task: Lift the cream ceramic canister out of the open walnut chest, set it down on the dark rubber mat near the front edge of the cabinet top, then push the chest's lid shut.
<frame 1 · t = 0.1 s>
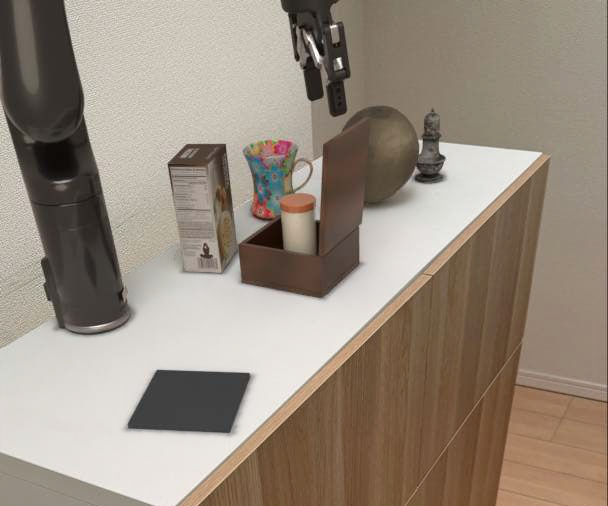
hand: (327, 106, 102), 22 cm above the table, tool pointing down, fingers open, 8 cm apart
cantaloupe: (375, 202, 138), on the table
mug: (282, 214, 135), on the table
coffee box: (211, 262, 122), on the table
chest: (301, 273, 117), on the table
lid: (344, 187, 105), point 13 cm above the table, hinge at 95.0°
salt shaker: (428, 179, 145), on the table
canister: (301, 268, 117), point 1 cm above the table, touching chest
mat: (191, 401, 92), on the table
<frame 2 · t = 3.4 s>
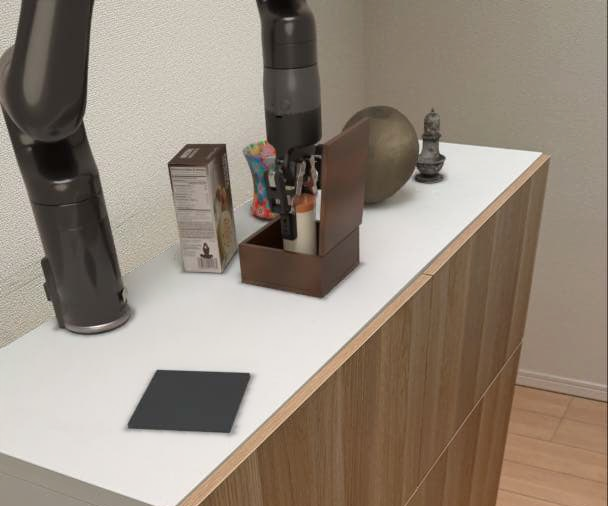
hand: (299, 231, 113), 6 cm above the table, tool pointing down, fingers closed on canister, 5 cm apart
canister: (301, 268, 117), point 1 cm above the table, touching chest, gripper
everything else where it was.
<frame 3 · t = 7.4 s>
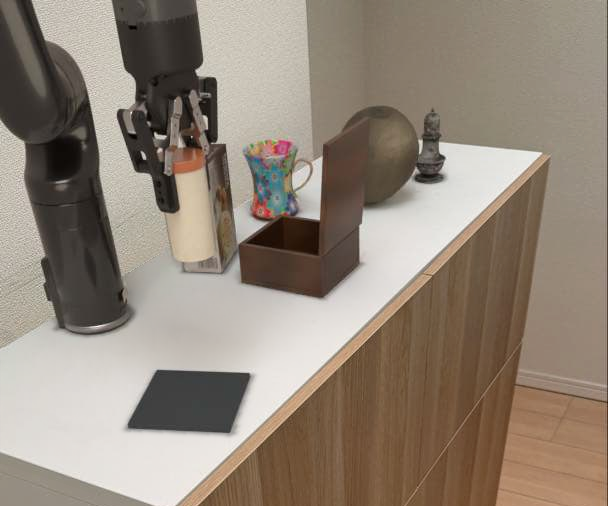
hand: (185, 201, 81), 22 cm above the table, tool pointing down, fingers closed on canister, 5 cm apart
canister: (194, 252, 85), point 16 cm above the table, touching gripper
everything else where it was.
when the fingers open (6 cm above the table, at t = 11.8 s): canister stays where it is, resting on mat.
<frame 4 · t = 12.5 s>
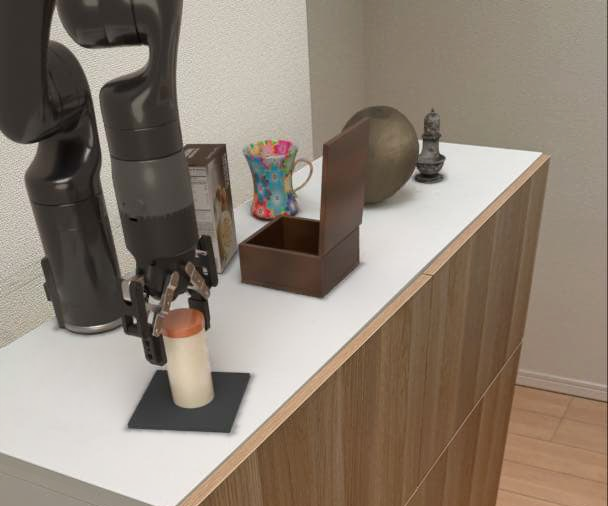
hand: (180, 346, 87), 7 cm above the table, tool pointing down, fingers open, 8 cm apart
canister: (193, 396, 92), point 1 cm above the table, touching mat
everything else where it was.
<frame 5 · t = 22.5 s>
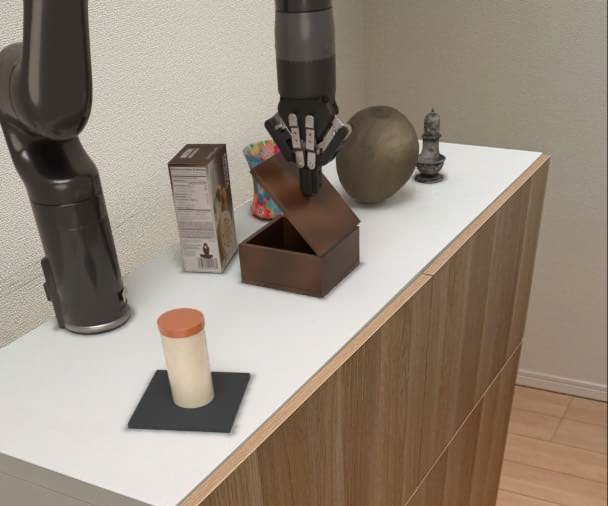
hand: (311, 194, 108), 12 cm above the table, tool pointing down, fingers closed
lid: (307, 197, 109), point 11 cm above the table, hinge at 44.6°, touching gripper
everything else where it was.
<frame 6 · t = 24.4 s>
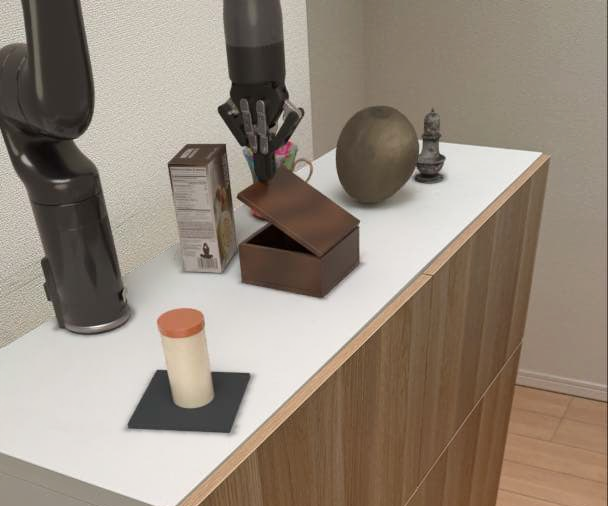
hand: (265, 179, 110), 13 cm above the table, tool pointing down, fingers closed
lid: (300, 209, 111), point 9 cm above the table, hinge at 26.7°, touching gripper
everything else where it was.
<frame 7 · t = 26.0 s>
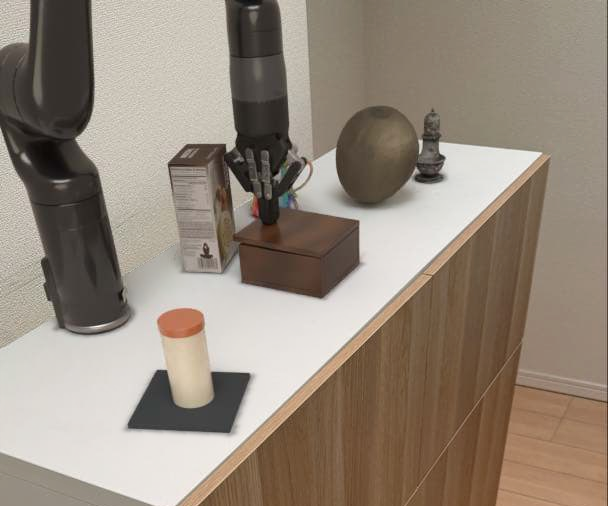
hand: (269, 222, 114), 7 cm above the table, tool pointing down, fingers closed
lid: (296, 230, 113), point 6 cm above the table, hinge at 1.2°, touching gripper
everything else where it was.
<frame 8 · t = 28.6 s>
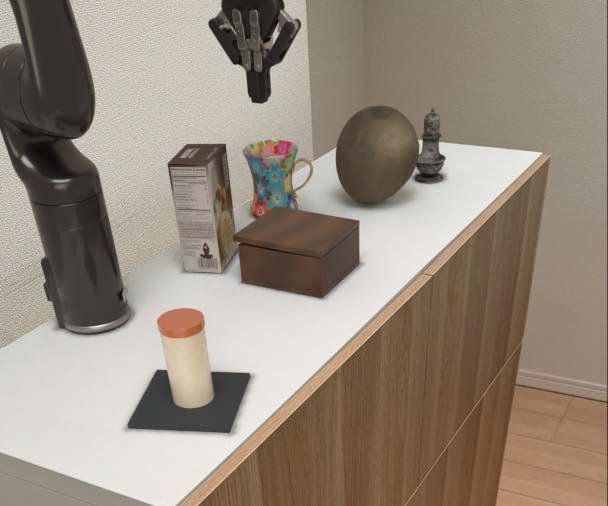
hand: (260, 101, 103), 23 cm above the table, tool pointing down, fingers closed
lid: (296, 230, 113), point 6 cm above the table, hinge at 1.2°
everything else where it was.
at the end: canister inside the target area on the mat (0.3 cm from its centre), point 0.6 cm above the mat's base; canister tilted 0°; lid at +1° (first picture: +95°) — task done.
